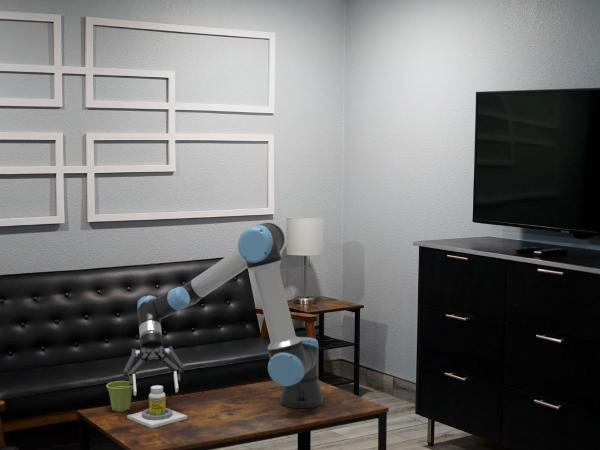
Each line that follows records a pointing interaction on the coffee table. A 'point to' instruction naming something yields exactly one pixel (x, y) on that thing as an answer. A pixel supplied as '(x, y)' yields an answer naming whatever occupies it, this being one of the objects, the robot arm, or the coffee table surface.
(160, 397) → the supplement bottle
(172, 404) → the coffee table surface
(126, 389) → the plant pot
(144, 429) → the coffee table surface
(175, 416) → the socket
